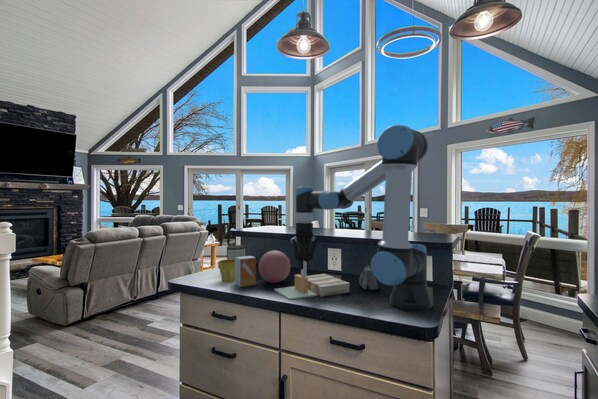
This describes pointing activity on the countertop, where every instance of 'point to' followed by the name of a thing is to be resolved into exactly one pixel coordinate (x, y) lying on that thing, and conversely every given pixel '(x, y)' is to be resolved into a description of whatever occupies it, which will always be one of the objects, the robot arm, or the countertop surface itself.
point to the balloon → (274, 266)
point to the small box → (245, 271)
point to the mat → (294, 293)
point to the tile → (301, 283)
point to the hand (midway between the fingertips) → (303, 276)
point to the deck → (327, 285)
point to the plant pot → (227, 270)
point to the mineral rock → (368, 279)
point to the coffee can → (235, 251)
